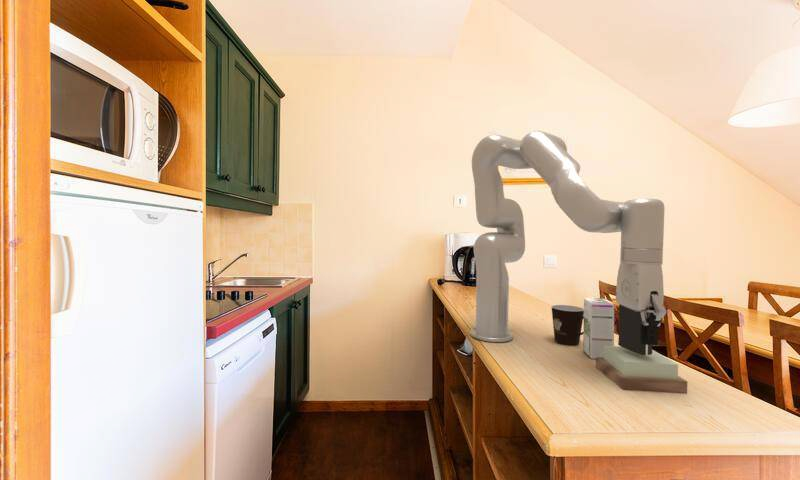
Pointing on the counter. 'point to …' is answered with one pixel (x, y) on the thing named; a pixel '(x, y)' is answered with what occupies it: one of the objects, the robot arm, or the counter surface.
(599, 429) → the counter surface
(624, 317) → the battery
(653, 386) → the tower base
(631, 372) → the tower top
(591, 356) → the syrup box
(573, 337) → the coffee mug
